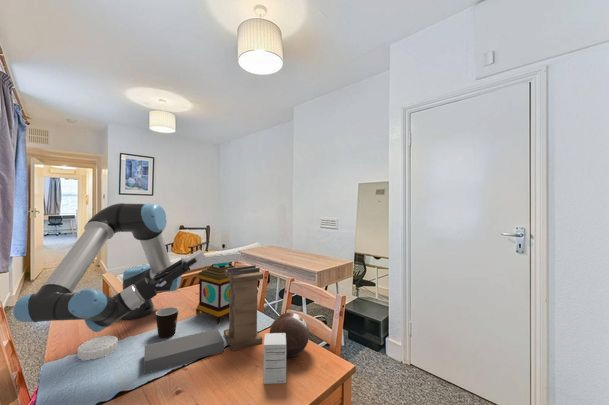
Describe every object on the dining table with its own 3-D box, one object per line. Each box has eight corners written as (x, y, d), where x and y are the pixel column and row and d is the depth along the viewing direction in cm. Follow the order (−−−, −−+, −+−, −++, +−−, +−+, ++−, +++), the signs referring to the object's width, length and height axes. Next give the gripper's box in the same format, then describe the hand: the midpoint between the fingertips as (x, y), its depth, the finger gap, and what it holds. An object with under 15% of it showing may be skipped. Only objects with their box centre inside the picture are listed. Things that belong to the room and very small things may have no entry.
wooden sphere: (312, 364, 92) (312, 322, 92) (269, 368, 90) (270, 324, 90) (305, 341, 107) (305, 305, 107) (268, 344, 105) (269, 307, 105)
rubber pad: (144, 356, 95) (144, 345, 95) (217, 338, 109) (217, 328, 109) (144, 373, 86) (144, 361, 86) (223, 351, 99) (224, 340, 99)
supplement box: (264, 369, 89) (264, 332, 89) (285, 368, 90) (286, 332, 90) (262, 384, 82) (263, 344, 82) (286, 383, 82) (286, 344, 82)
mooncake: (120, 351, 98) (120, 342, 98) (78, 365, 90) (79, 355, 90) (114, 339, 107) (115, 330, 107) (76, 351, 98) (76, 341, 98)
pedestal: (223, 334, 111) (224, 266, 111) (250, 328, 118) (251, 263, 118) (232, 351, 99) (234, 274, 99) (262, 342, 106) (263, 270, 106)
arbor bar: (181, 265, 98) (181, 257, 98) (239, 259, 109) (239, 252, 109) (182, 267, 95) (182, 259, 95) (241, 260, 106) (241, 253, 106)
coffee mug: (168, 341, 106) (168, 316, 106) (150, 338, 108) (150, 314, 107) (186, 327, 117) (187, 305, 117) (170, 325, 119) (170, 303, 119)
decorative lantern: (249, 311, 135) (250, 254, 135) (218, 326, 119) (219, 261, 119) (223, 302, 146) (224, 249, 146) (191, 315, 129) (192, 255, 129)
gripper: (146, 293, 97) (203, 257, 108) (146, 309, 84) (212, 265, 94) (134, 277, 95) (194, 242, 106) (132, 291, 82) (201, 248, 92)
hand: (202, 253), depth 100 cm, fingers closed on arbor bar, 3 cm apart
